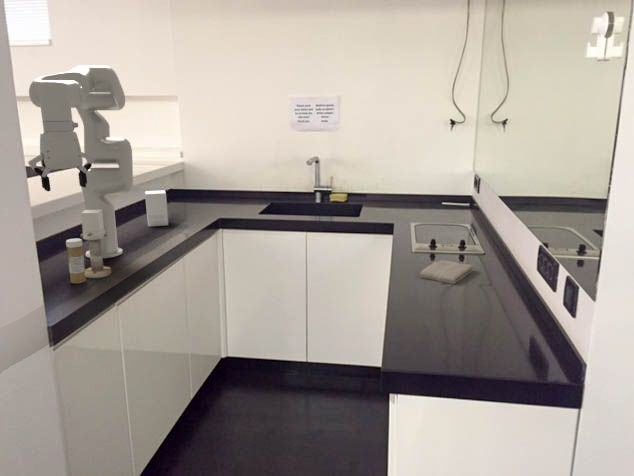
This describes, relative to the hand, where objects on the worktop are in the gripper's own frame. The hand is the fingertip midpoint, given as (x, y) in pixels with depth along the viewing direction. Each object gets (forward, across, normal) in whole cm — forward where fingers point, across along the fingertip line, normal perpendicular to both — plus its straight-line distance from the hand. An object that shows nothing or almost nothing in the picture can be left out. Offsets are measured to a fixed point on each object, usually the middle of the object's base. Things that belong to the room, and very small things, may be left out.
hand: (65, 188), depth 152 cm
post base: (+30, -10, -9) cm, 33 cm away
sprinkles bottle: (+31, -2, -6) cm, 31 cm away
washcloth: (+31, -95, +66) cm, 120 cm away
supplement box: (+32, -58, -65) cm, 93 cm away
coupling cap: (+18, -9, -8) cm, 22 cm away
